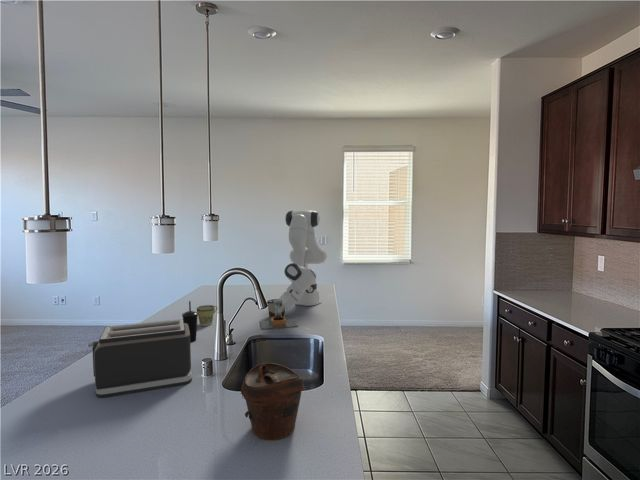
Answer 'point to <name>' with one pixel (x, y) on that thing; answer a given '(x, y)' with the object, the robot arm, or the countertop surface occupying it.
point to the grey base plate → (278, 323)
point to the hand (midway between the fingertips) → (277, 310)
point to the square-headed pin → (277, 305)
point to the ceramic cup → (206, 314)
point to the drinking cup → (191, 322)
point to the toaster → (142, 357)
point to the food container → (273, 308)
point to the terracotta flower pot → (272, 399)
